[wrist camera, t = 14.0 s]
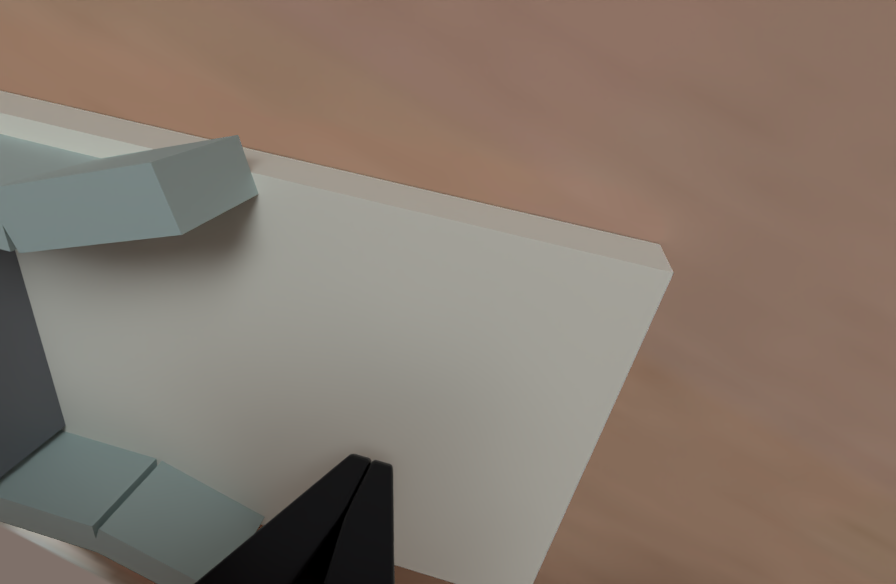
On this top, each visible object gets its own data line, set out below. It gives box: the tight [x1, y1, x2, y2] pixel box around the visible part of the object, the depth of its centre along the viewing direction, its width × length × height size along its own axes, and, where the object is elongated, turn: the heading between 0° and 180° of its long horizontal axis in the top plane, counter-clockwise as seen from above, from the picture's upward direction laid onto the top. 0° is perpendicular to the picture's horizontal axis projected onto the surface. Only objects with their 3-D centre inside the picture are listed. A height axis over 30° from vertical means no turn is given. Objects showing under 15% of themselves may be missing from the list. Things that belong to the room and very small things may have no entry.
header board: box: [0, 91, 673, 584], centre depth 10 cm, size 18×11×4 cm, turn 81°
